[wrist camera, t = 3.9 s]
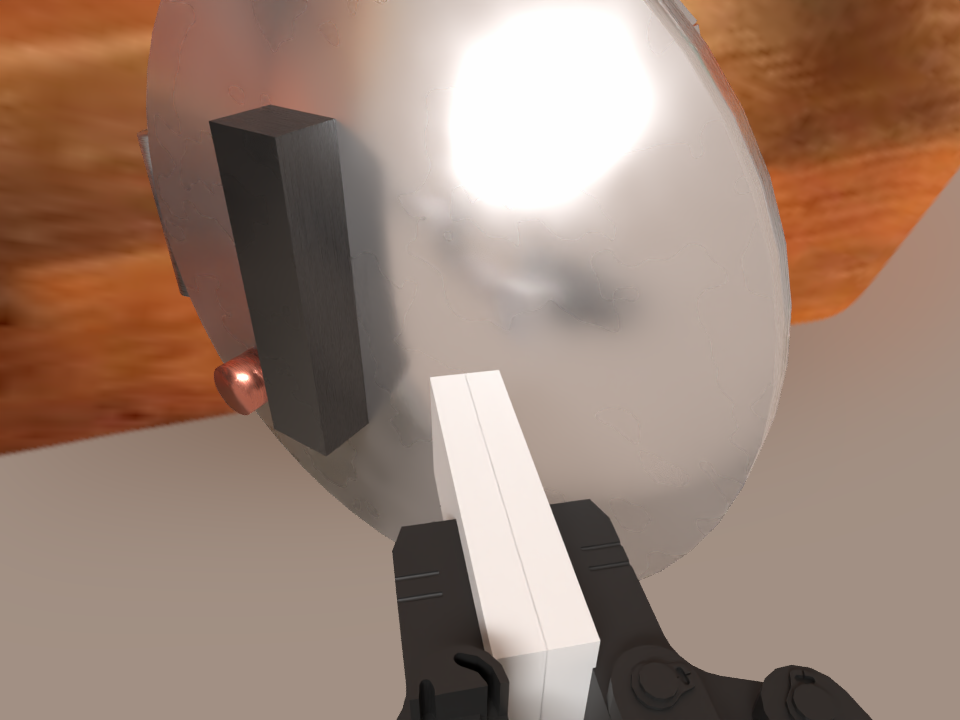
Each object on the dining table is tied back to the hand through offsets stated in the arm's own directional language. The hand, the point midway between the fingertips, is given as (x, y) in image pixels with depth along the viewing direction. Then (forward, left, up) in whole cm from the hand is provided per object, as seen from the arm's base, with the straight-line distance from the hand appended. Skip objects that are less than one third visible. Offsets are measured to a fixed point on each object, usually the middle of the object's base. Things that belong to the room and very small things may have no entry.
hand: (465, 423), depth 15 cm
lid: (0, -1, -7) cm, 7 cm away
